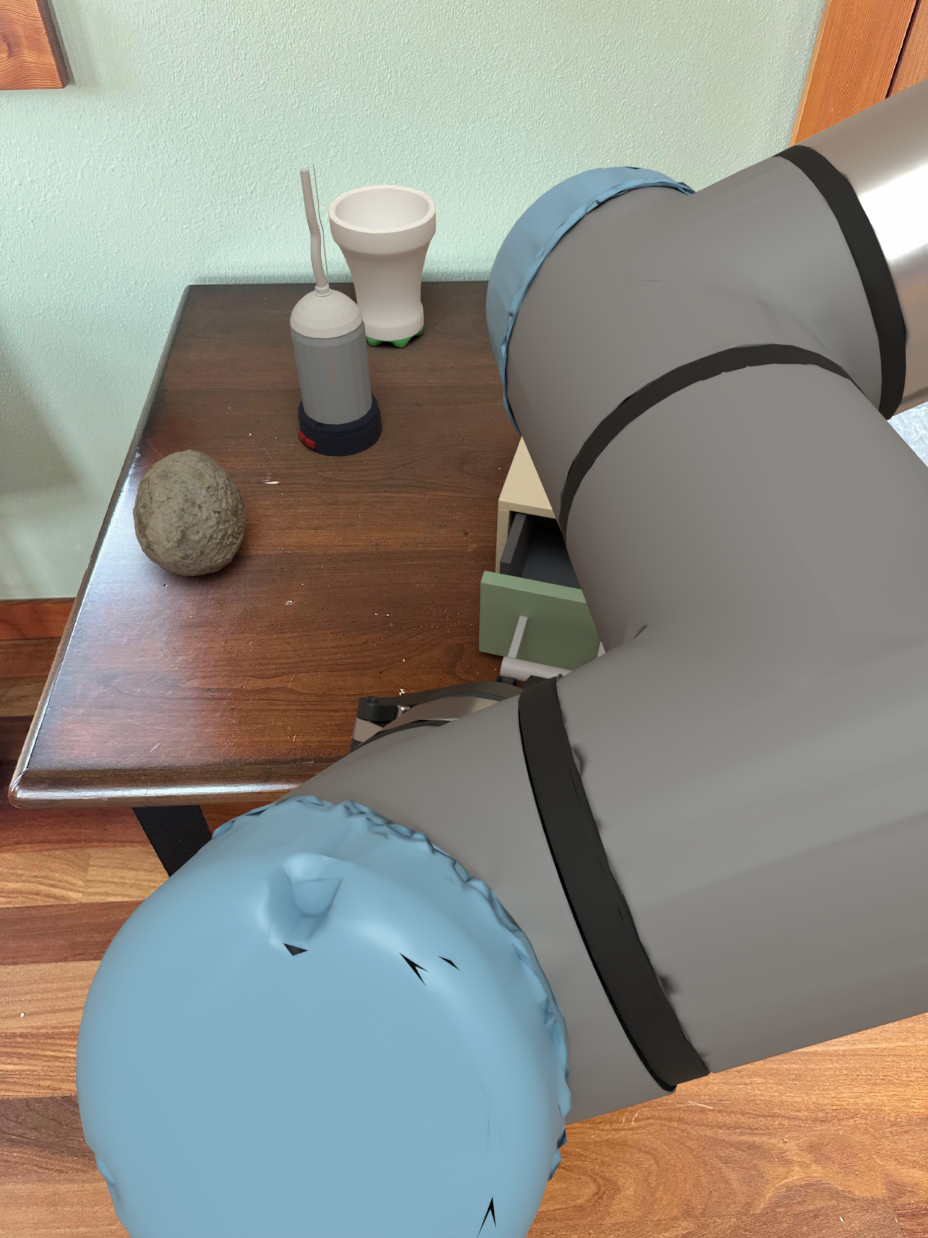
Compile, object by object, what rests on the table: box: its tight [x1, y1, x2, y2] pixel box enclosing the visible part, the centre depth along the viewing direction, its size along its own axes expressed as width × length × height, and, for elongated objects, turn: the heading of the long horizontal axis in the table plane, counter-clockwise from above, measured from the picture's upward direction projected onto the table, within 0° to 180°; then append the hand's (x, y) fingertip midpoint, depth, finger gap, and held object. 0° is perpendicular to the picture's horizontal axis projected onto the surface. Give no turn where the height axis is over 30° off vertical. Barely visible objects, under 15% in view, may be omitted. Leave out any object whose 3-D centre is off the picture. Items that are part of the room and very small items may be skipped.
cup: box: [327, 184, 437, 348], centre depth 91 cm, size 11×11×14 cm
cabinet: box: [494, 436, 556, 573], centre depth 70 cm, size 16×14×10 cm
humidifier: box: [289, 163, 383, 457], centre depth 75 cm, size 8×8×25 cm
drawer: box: [478, 512, 605, 682], centre depth 64 cm, size 20×13×8 cm, turn 165°
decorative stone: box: [132, 448, 247, 577], centre depth 69 cm, size 10×8×10 cm
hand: (538, 699), depth 49 cm, fingers closed
